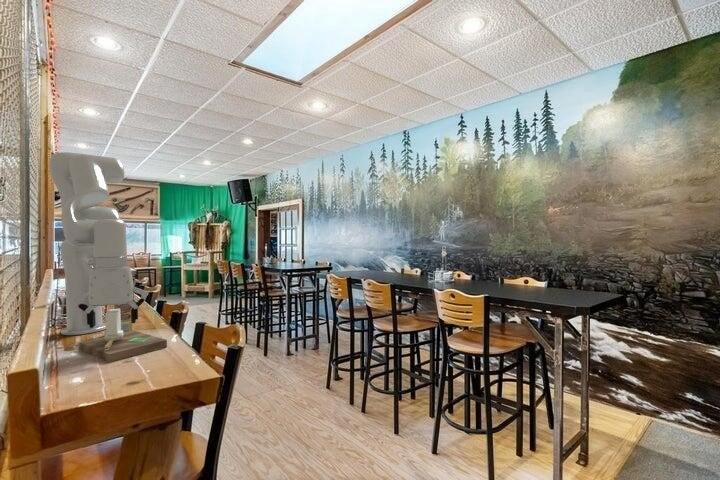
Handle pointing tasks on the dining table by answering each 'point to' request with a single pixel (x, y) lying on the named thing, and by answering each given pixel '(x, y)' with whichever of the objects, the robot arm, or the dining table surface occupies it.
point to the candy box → (125, 316)
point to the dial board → (123, 346)
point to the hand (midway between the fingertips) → (113, 324)
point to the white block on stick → (113, 327)
